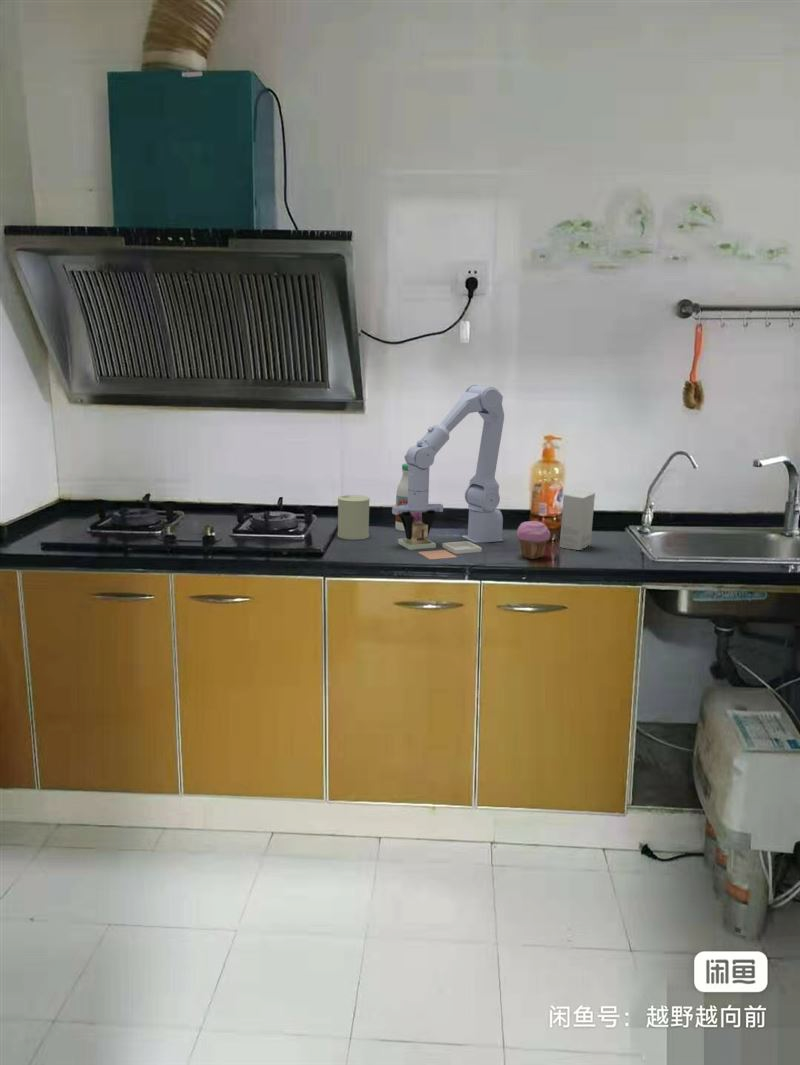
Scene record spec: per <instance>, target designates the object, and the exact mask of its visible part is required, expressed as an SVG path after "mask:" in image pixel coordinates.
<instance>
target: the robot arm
mask: <svg viewBox="0 0 800 1065" xmlns="http://www.w3.org/2000/svg"><path fill="white" fill-rule="evenodd" d="M503 399H504V396H503V395H502V393H501V392H500V391H499V390H498V389H497V388H496V387H494V386H483V385H477V384H471V385H469V386H468V387H467V388H466V389H465V390H464V392H462V393H461V394H460V397H459V400H458V401H457V402H456V403H455V405H454V406H453V407H452V408H451V410H450V411H449V412H448V414H447V415H446V416H445V418H444V419H443V420H442V421H441V422H440V424H434V425H433V426H429V427H428V428H427V432H426V433H425V434H424V435H423V436H422V438H421V439H420V440H417V442H416V445H412V446H410V447H409V448H408V449H407V451H406V454H405V455H404V460H405V462H406V463H407V464H408V470H409V471H408V504H407V505H401V506H396V505H393V506H392V507H391V513H392V514H393V515H395V516H396V515H397V514H399V517H400V519H401V521H402V523H403V526H404V529H405V531H404V532H405V533H404V534H405V539H406V538H407V539H409V540H410V539H411V537H412V523H413V518H414V517H413V516H411V514H410V513H420V512H421V522H422V523H424V524H426V525H428V537H427V539H428V538H429V534H430V531H431V528H432V526H433V524H434V522H435V519H436V518H437V513H436V512H440V513H443V512H444V505H443V504H442V503H429V493H430V491H429V490H430V489H429V487H430V467H431V466H433V464H434V462H435V457H436V455H437V453H438V452H439V451H441V449H442V448H443V447H444V446H445V444H447V442H448V441H449V440H450V433H451V432H452V431H453V430H454V429H455V428H456V427H457V426H458V425H459V424H460V423H461V422H462V421H463V420H464V419H465V418H466V416H468V415H469V414H472V413H477V414H479V416H480V417H481V418H482V420H483V423H482V424H483V426H482V432H481V437H480V445H479V451H478V456H477V457H478V458H477V462H476V470H475V475H474V476H472V477H471V478H470V479H469V484H468V487H467V488H466V489H465V492H464V499H465V502H466V503H467V504H468V505H467V506H468V507H467V508H468V524H467V525H468V526H467V527H468V528H467V535H465V534H464V535H462V538H464V539H466V540H468V541H469V542H471V543H473V544H476V543H493V542H494V543H495V542H503V541H504V539H503V526H504V525H503V522H504V518H503V514H502V512H501V510H500V509H499V508H497V507H498V506H499V504H500V499H501V498H500V493H499V490H500V485H499V483H498V482H497V479H496V478H495V476H496V471H497V464H498V458H499V453H500V444H501V440H502V434H503V427H504V421H505V412H504V408H503ZM406 463H405V464H406Z"/></svg>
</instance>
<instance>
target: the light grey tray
mask: <svg viewBox="0 0 800 1065" xmlns="http://www.w3.org/2000/svg"><path fill="white" fill-rule="evenodd" d="M442 548H443V549H444V550H446V551H448V552H450V553H451V554H453V555H458V554H460V555H461V554H471V553H481V552H482V549H483V548H482V547H481V546H479V545H478V544H476V543H474V542H472V541H470V540H468V541H467V540H466V541H464V540H463V541H453V542H450V541H449V542H442Z"/></svg>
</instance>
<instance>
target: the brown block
mask: <svg viewBox="0 0 800 1065" xmlns="http://www.w3.org/2000/svg"><path fill="white" fill-rule="evenodd" d="M427 537H428V538H429V535H428V525H426V524H424V523H423V521H421V522H414V523H412V537H411V539H410V540H409V539H406V538H405V539H406V542H407V543H408V544H410V545H416V544H427V539H428V538H427Z"/></svg>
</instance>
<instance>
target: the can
mask: <svg viewBox="0 0 800 1065" xmlns="http://www.w3.org/2000/svg"><path fill="white" fill-rule="evenodd" d="M369 526H370V497H369V496H366V495H359V494H348V495H347V494H345V495H340V496H339V497H337V537H338V538H340V539H343V540H344V539H345V540H365V539H367V538H369V537H370V530H369V528H370V527H369Z"/></svg>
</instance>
